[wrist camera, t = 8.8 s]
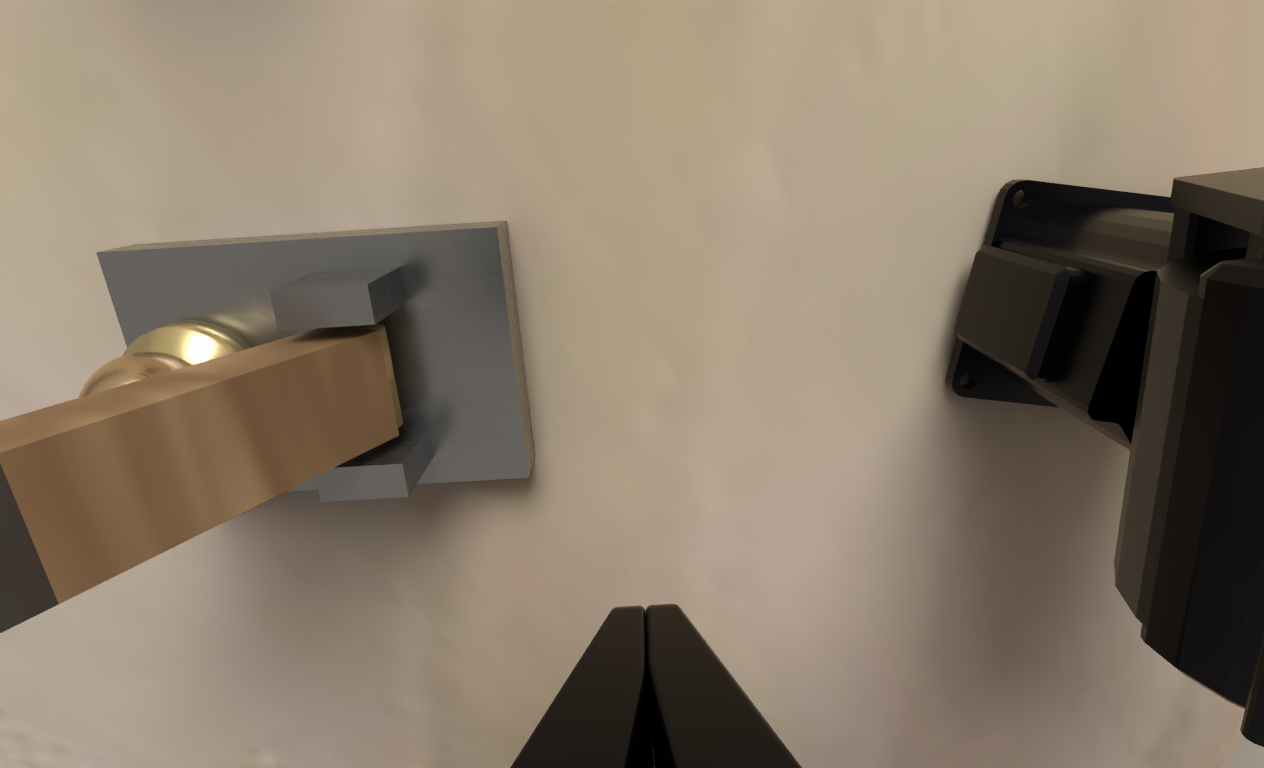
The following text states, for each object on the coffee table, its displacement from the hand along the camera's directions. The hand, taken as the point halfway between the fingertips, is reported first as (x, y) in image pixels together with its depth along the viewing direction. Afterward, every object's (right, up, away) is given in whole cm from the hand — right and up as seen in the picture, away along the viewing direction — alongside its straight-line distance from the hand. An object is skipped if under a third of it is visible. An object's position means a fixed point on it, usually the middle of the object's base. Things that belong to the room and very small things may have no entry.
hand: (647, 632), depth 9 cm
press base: (-9, +4, +12) cm, 16 cm away
